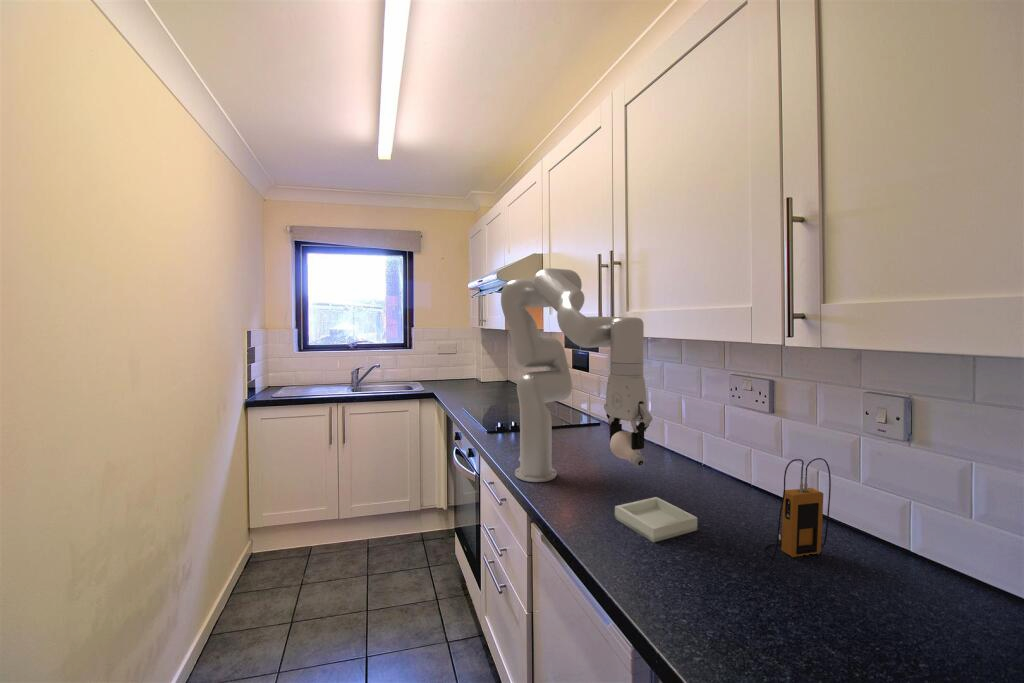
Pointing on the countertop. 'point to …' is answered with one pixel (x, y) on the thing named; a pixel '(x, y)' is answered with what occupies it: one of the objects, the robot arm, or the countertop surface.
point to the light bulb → (625, 448)
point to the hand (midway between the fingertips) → (626, 444)
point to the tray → (656, 519)
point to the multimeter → (802, 518)
